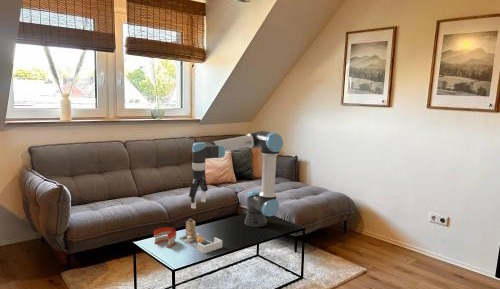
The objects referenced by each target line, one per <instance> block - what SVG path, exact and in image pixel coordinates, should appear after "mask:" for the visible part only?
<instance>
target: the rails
mask: <svg viewBox="0 0 500 289" xmlns="http://www.w3.org/2000/svg"><path fill="white" fill-rule="evenodd" d="M195 234H197V233H196V232H195ZM199 237H202V238H203V241H205V242H207V243H209V244H211V243H214V241H211V240H208V239H206V238H205V237H203V236H200V235H199ZM185 239H186V235H182V236H179V238H178V240H180V241H182V242H183V243H186V244H188V245H190V246H191V247H193V248H195V249H197V245H195V244H193V243H191V242H187V240H185Z"/></svg>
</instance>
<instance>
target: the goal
mask: <svg viewBox="0 0 500 289" xmlns="http://www.w3.org/2000/svg"><path fill="white" fill-rule="evenodd" d="M196 246H197V251H199V252H201V253H202V254H207V253H210V252H213V251H215V250H218V249H222V248H223V240H222V239H220V238H217V237H213V243H209V244H205V245H204V244H203V243H201V244H200V243H197V242H196Z"/></svg>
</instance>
